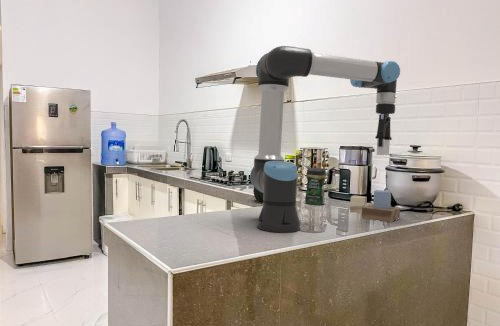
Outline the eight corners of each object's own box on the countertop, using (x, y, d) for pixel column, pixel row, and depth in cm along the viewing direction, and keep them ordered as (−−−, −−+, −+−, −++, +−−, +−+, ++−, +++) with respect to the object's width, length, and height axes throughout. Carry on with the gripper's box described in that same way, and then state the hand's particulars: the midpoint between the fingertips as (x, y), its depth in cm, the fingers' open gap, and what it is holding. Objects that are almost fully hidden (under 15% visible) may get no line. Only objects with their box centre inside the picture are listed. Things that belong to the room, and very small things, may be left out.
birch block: (363, 213, 175) (364, 198, 175) (350, 212, 178) (350, 196, 178) (366, 211, 181) (366, 196, 180) (352, 210, 183) (353, 195, 183)
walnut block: (390, 223, 156) (391, 211, 156) (361, 219, 163) (362, 207, 163) (399, 219, 165) (400, 207, 165) (371, 215, 173) (372, 204, 172)
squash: (260, 194, 189) (277, 170, 194) (243, 191, 201) (259, 169, 206) (277, 212, 194) (293, 189, 200) (260, 208, 207) (275, 187, 212)
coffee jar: (303, 203, 198) (304, 167, 197) (308, 202, 205) (309, 167, 204) (321, 205, 193) (323, 168, 193) (326, 204, 200) (327, 168, 199)
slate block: (388, 209, 160) (389, 192, 160) (373, 207, 162) (374, 191, 162) (390, 207, 165) (391, 191, 165) (375, 206, 168) (376, 190, 168)
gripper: (390, 100, 149) (387, 155, 150) (399, 106, 171) (396, 155, 172) (370, 100, 152) (367, 154, 153) (381, 107, 175) (378, 154, 175)
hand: (382, 155), depth 163 cm, fingers open, 13 cm apart
